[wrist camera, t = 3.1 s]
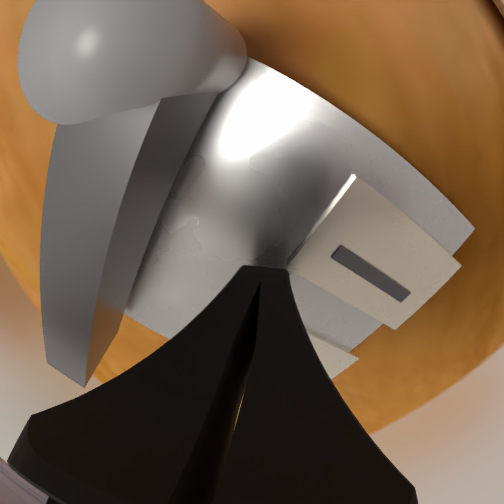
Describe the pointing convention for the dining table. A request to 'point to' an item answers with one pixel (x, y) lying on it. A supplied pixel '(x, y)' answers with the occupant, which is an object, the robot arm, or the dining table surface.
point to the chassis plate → (297, 219)
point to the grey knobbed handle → (113, 147)
